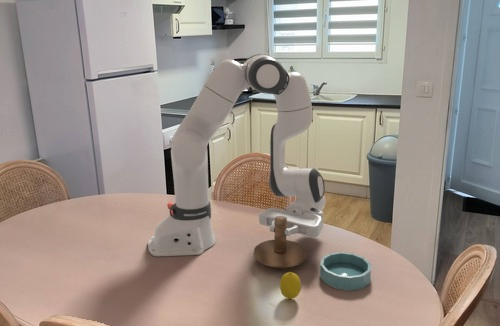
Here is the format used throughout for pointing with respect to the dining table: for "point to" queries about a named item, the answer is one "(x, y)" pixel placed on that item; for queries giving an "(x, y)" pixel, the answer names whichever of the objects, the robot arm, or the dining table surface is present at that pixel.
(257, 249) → the lid
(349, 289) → the bowl
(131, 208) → the dining table surface
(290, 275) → the lemon
